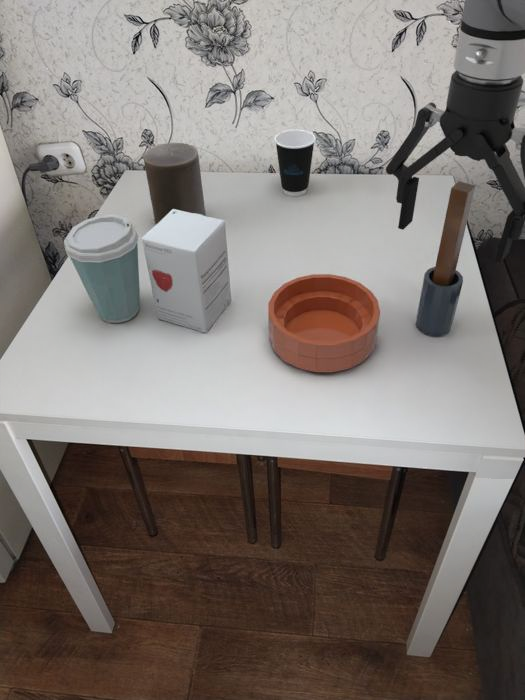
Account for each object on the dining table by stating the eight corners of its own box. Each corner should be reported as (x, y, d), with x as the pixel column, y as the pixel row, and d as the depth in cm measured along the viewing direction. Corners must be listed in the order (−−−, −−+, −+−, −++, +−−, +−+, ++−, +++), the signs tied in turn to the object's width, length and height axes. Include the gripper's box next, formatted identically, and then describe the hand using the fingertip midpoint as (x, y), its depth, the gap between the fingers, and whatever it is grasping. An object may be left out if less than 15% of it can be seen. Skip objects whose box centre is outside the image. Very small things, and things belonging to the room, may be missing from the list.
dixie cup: (302, 177, 124) (302, 125, 116) (321, 193, 118) (323, 140, 111) (268, 187, 121) (266, 134, 114) (287, 204, 116) (286, 150, 108)
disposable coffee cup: (83, 336, 90) (56, 253, 79) (87, 293, 97) (63, 213, 87) (153, 327, 91) (135, 244, 80) (152, 285, 98) (135, 205, 88)
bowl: (394, 329, 88) (399, 298, 84) (338, 392, 79) (341, 361, 75) (308, 292, 95) (309, 262, 91) (248, 346, 87) (246, 315, 82)
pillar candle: (173, 242, 108) (160, 164, 97) (146, 220, 113) (131, 145, 103) (216, 223, 112) (208, 147, 101) (188, 203, 117) (178, 129, 107)
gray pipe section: (457, 322, 89) (469, 274, 83) (441, 342, 86) (453, 293, 80) (425, 309, 91) (435, 261, 85) (409, 328, 88) (418, 280, 82)
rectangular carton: (155, 319, 92) (138, 237, 82) (185, 287, 98) (172, 206, 87) (206, 334, 89) (195, 251, 79) (233, 300, 95) (226, 218, 84)
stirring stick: (444, 320, 88) (475, 185, 73) (437, 328, 87) (468, 192, 72) (430, 314, 89) (458, 180, 74) (424, 322, 88) (451, 187, 73)
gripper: (369, 62, 67) (355, 224, 82) (600, 109, 56) (536, 287, 70) (400, 44, 71) (382, 201, 86) (621, 84, 60) (556, 257, 75)
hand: (451, 240), depth 78 cm, fingers open, 13 cm apart
